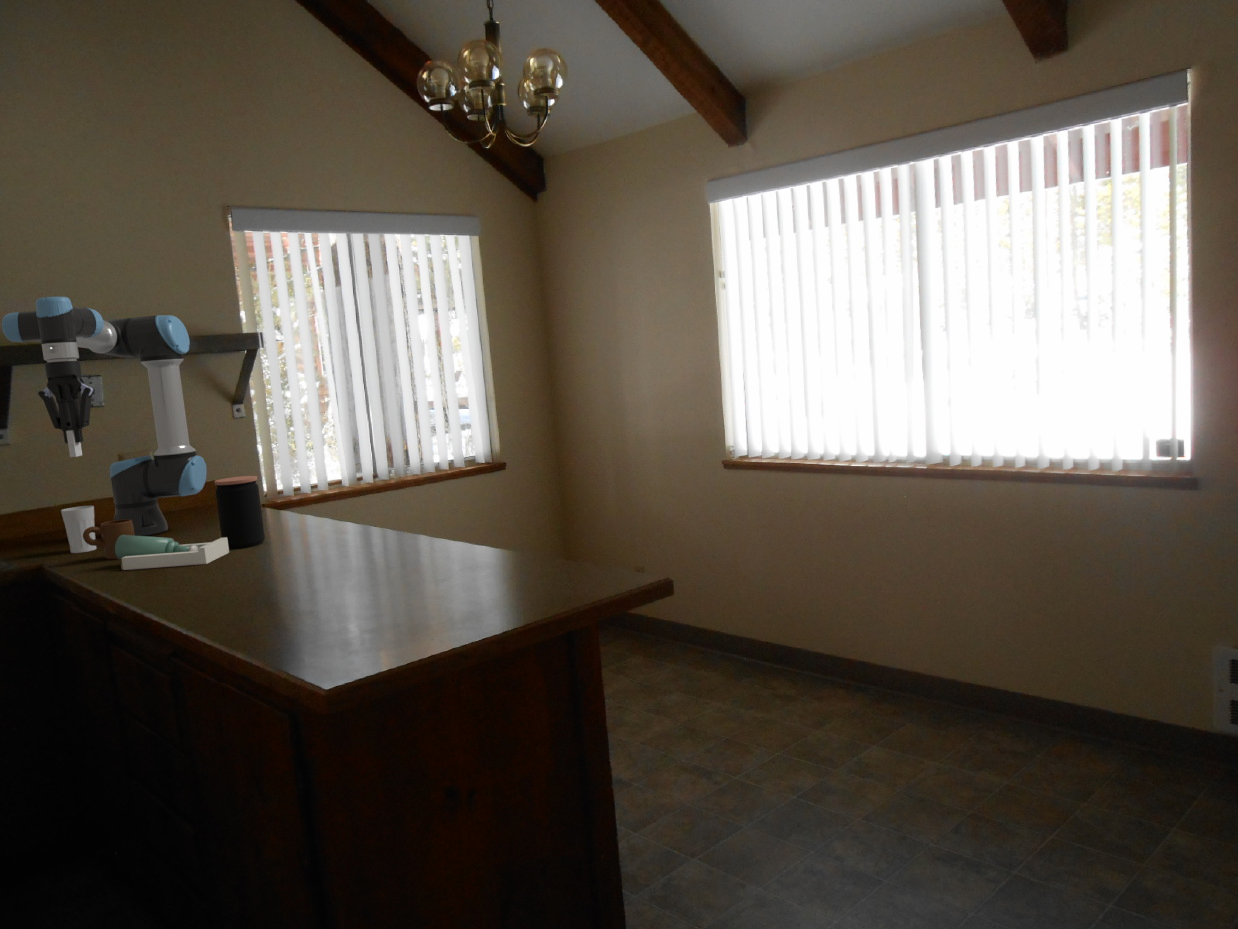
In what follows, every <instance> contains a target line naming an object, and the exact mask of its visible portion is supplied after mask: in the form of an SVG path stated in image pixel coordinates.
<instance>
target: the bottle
mask: <svg viewBox="0 0 1238 929" xmlns="http://www.w3.org/2000/svg"><path fill="white" fill-rule="evenodd" d="M179 545H180V543H179V542H178V541H175V540H174V539H173V538H172V537H162V536H161V537H160V536H158V537H157V536H149V535H146V536H134V535H121V536H119V538H118V539H117V541H116V545H115V554H116V556H117V558H119V559H118V560H122V558H123V557H125V556H136V555H150V554H163V553H176V552H189V551H198V547H197V546H196V545H191V546H179Z"/></svg>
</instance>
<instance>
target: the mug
mask: <svg viewBox="0 0 1238 929" xmlns="http://www.w3.org/2000/svg"><path fill="white" fill-rule="evenodd" d="M94 526H95V525H94ZM94 526H93V527H89V528H87V529H86V530H85V531H84V533H83V539H84V541H85V542H86V543H87V544H89V545H92V546H96V547H97V546H98V547H100V548H103V554H104V558H105V559H106V560H120V559H119V558H117V556H116V554H115V545H116V541H117V539H118V538H119V536H121V535H134V536H135V534H134V527H133V523H132V520H131V519H123V520H114V519H113V520H109V521H104V522H101V523H100V527H98V526H95V527H94ZM91 532H93V533H95V534H100V535H101V538H95V539H92V538H91V537H90V535H89V534H90V533H91Z"/></svg>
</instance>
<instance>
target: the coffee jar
mask: <svg viewBox="0 0 1238 929" xmlns="http://www.w3.org/2000/svg"><path fill="white" fill-rule="evenodd" d="M257 481H258V476H257V475H242V476H233V477H226V478H221V479H220V478H219V479H216V480H214V485H215V486H216V488H215V497H216V506H217V514H218V521H219V526H220V535H221V537H220V538H225V537H227V539H228V547H229V550H239V549H247V548H251V547H255V546H260V545H262V544H263V543H264V541H265V536H266V535H265V528H264V521H263V519H264V518H263V513H262V512H263V511H262V505H261V504H262V503H261V497H260V489H259V485H258V483H257Z"/></svg>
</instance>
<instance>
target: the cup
mask: <svg viewBox="0 0 1238 929" xmlns="http://www.w3.org/2000/svg"><path fill="white" fill-rule="evenodd" d="M60 512H61V516H62V520H63V523H64V527H65V531H66V536H67V540H68V544H69V550H70V553H71V554H80V553H85V552H86V553H87V552H91V551H95V550H97V549H98V548H97V546H92V545H89V544H87V543H86V542H85V541H84V539H83V533H84V531H85V530H86V529H87V528H89V527H93V526H94V527H96V526H95V506H94V505H83V506H82V505H81V506H75V507H69V508H63V509H60ZM89 535H90V537H91V538H92V539H96V533H93V532H91V533H90V534H89Z"/></svg>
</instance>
